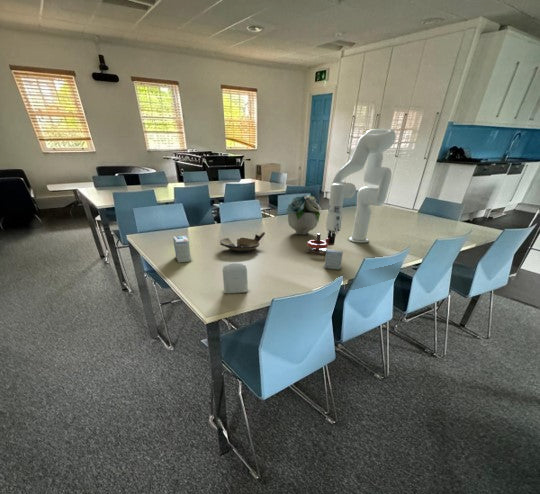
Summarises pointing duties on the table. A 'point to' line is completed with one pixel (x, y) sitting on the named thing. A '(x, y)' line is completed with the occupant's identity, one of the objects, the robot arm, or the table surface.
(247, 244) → the oil lamp
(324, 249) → the post
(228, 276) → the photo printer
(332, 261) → the medicine box
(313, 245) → the ring
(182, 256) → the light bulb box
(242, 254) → the table surface
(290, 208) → the flower arrangement
